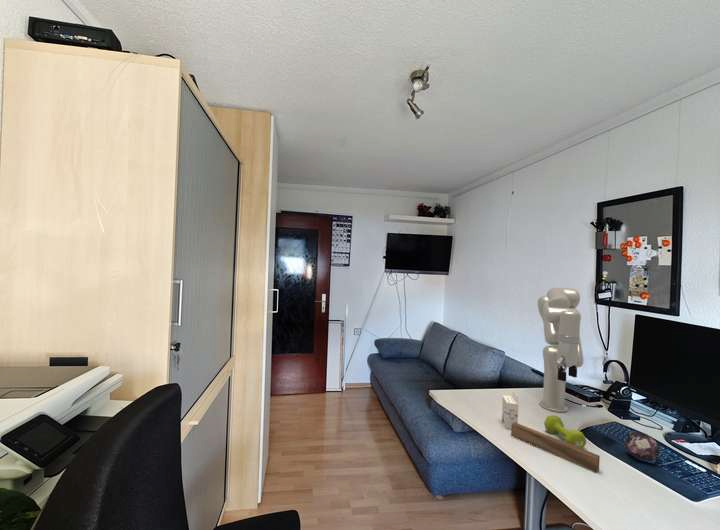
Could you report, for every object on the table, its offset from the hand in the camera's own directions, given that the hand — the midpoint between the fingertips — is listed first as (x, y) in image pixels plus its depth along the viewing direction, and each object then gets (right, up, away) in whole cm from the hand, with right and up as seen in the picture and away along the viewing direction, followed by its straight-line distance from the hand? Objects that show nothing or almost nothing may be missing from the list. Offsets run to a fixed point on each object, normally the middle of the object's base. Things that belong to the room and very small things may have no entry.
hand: (567, 378), depth 140 cm
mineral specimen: (+17, -25, -17) cm, 35 cm away
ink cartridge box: (-23, -23, +6) cm, 33 cm away
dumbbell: (-5, -24, -6) cm, 25 cm away
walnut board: (-15, -23, -14) cm, 32 cm away
